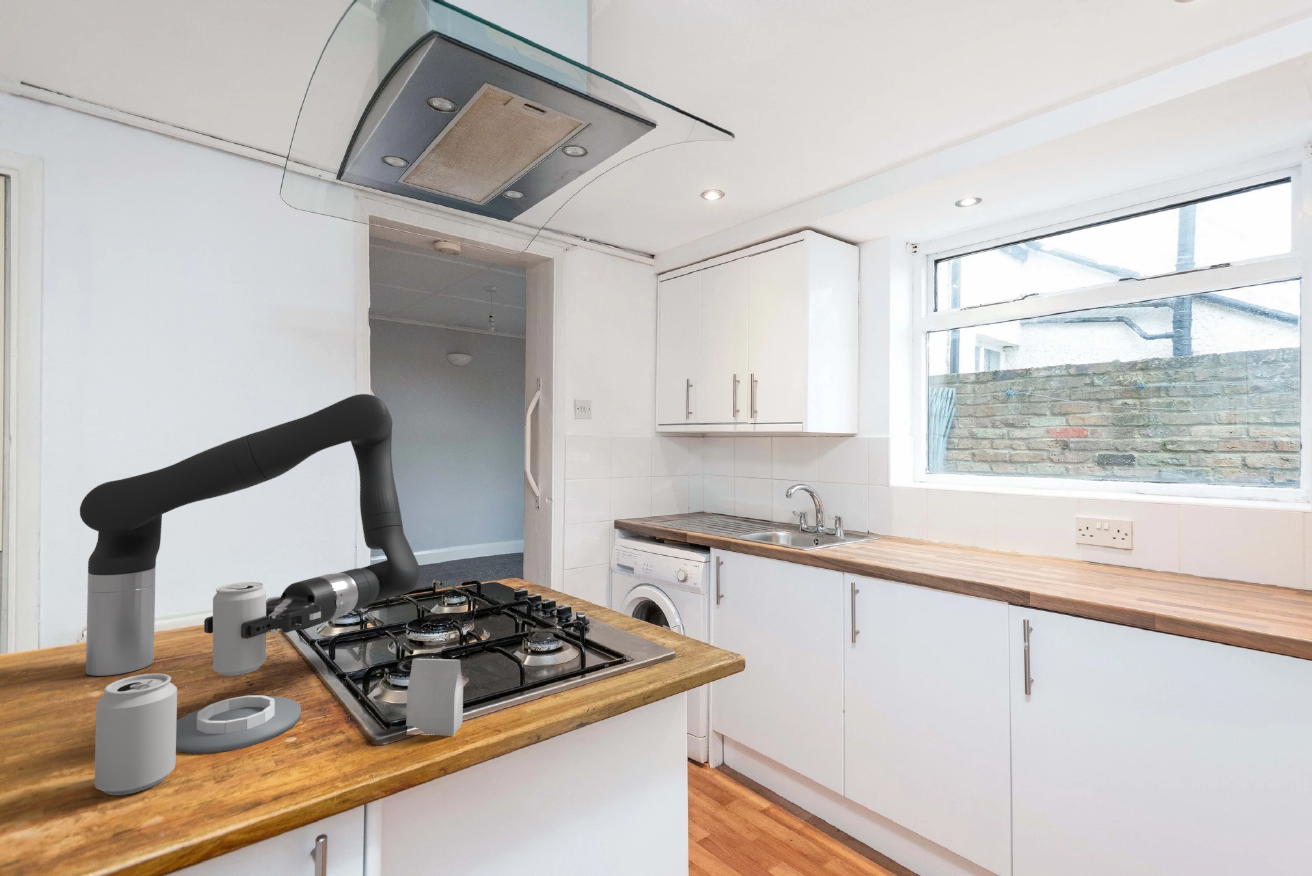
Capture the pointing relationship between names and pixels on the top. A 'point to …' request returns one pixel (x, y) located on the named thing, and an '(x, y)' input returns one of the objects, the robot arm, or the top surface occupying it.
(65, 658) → the top surface
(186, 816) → the top surface
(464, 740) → the top surface
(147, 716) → the can
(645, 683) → the top surface
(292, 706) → the dock
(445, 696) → the grey printed carton
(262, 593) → the beverage can
